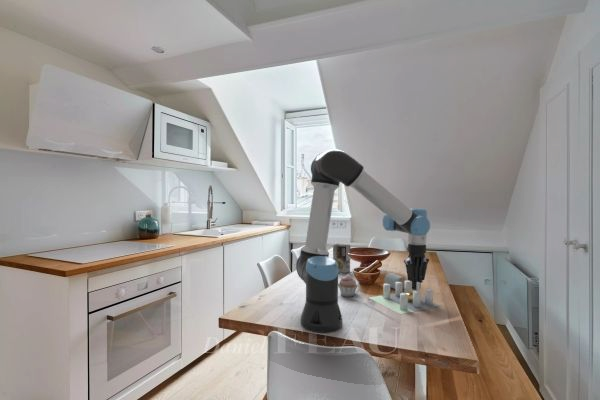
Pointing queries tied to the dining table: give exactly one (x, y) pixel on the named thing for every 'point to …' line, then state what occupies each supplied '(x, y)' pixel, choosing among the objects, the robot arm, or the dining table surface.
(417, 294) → the tray
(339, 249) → the coffee box
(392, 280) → the ceramic mug
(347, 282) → the cupcake
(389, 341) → the dining table surface
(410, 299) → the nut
